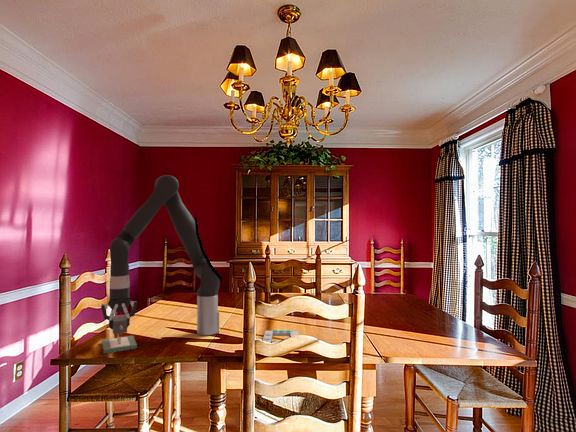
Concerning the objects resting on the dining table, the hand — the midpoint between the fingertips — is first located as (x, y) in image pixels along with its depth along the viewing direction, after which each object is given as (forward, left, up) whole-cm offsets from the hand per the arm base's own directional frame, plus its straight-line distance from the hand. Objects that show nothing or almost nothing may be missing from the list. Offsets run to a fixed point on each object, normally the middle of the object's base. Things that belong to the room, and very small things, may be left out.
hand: (119, 327), depth 153 cm
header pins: (0, 0, -6) cm, 6 cm away
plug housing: (0, +2, -1) cm, 2 cm away
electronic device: (-62, +24, -8) cm, 67 cm away
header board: (0, 0, -7) cm, 7 cm away
